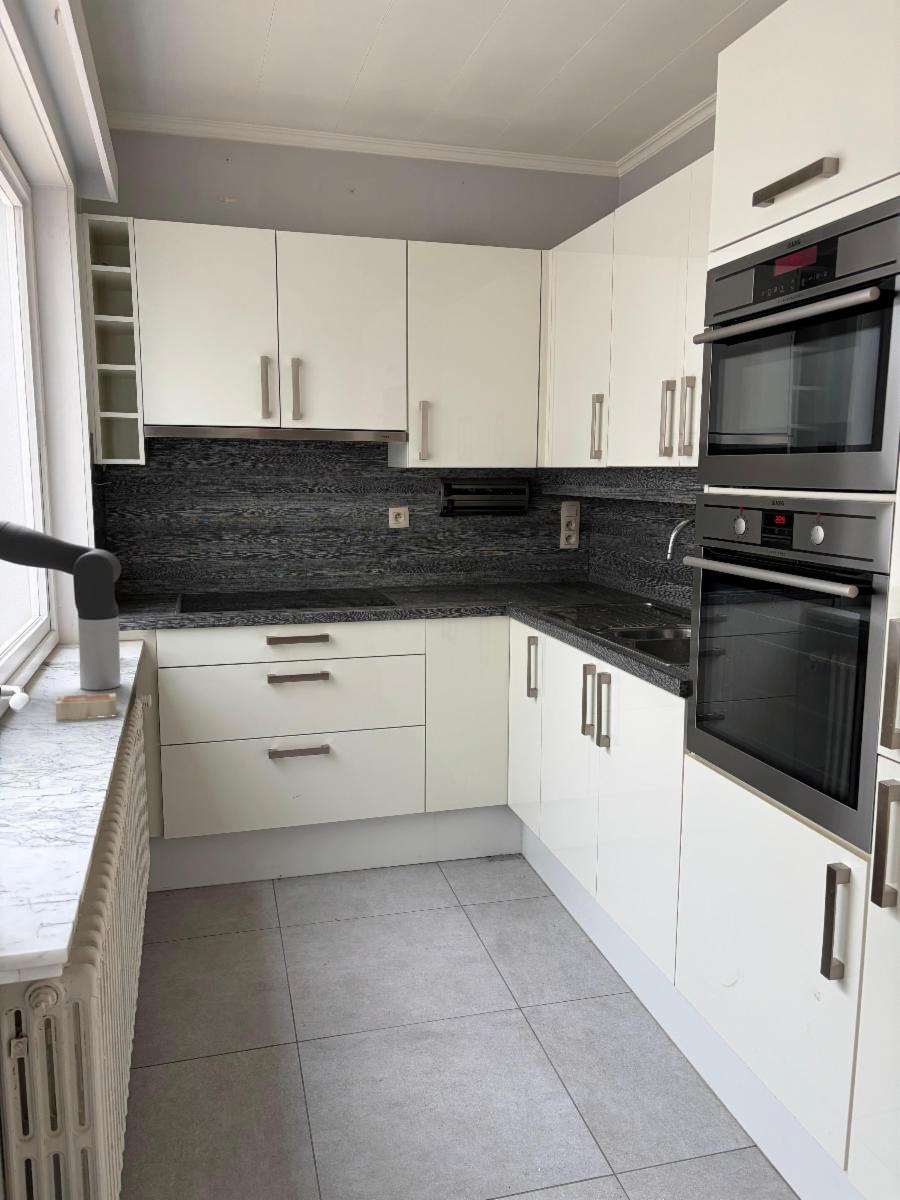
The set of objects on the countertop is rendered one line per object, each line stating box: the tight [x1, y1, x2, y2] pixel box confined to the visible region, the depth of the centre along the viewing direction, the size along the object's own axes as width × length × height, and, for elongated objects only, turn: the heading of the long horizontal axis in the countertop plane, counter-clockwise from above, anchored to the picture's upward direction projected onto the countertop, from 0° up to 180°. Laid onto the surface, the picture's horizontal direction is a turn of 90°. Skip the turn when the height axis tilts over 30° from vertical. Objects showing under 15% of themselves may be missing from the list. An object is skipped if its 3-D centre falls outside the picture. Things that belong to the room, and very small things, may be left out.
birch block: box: [55, 692, 117, 721], centre depth 201 cm, size 6×4×12 cm
